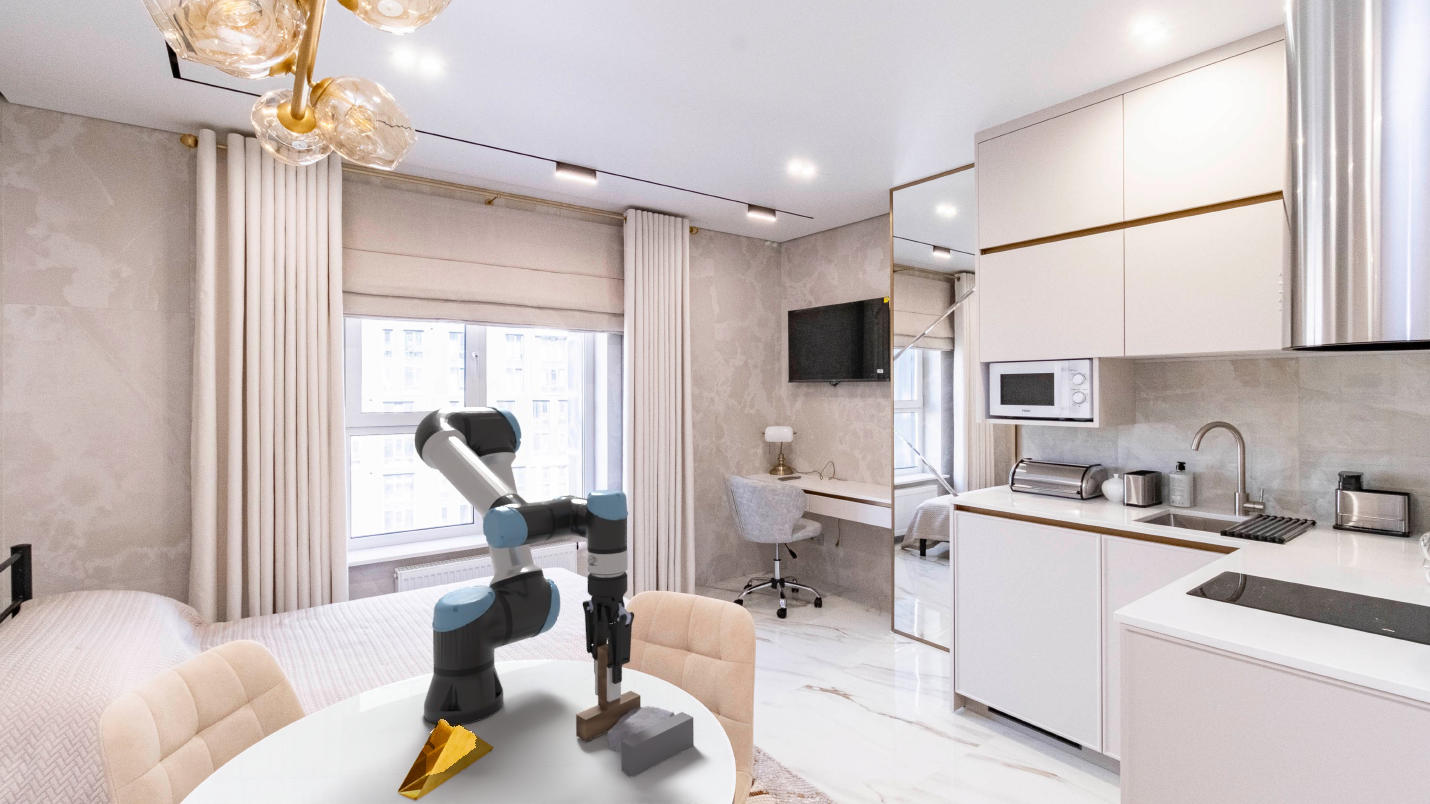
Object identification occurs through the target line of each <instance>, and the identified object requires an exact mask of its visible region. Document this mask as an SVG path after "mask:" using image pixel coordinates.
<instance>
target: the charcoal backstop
mask: <svg viewBox="0 0 1430 804" xmlns="http://www.w3.org/2000/svg"><path fill="white" fill-rule="evenodd" d="M694 732H695V731H694V716H691V715H689V714H688V713H685V712H683V711H680V712H678V713H676V714H674V716H672V717H670V718H668V719H666V720H664V721H662V722H659V723H657V724H655V725H653V726H651V727H649V728H647V729H645V730H643V731H640V732H638V733H636V734H634V735H632V736H630V737H628V738H626V739H623V740H621V752H620V753H621V757H620V758H621V761H620V762H621V766H620V767H621V771H622V772H623V773H625V774H627V775H628V776H629V777H631V778H634V777H636V776H638V775H640V774H642V773H643V772H646V771H647V770H650V769H651V768H653V767H655V766H657V765H659V764H661V763H662V762H664V761H667V760H668V759H670V758H672V757H674V756H675V755H677V754H679V753H681V752H683V751H685V750H687V749H689V748H691V747H692V746H694V744H695V743H694V741H695V740H694V739H695V738H694Z"/></svg>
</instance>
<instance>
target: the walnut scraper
mask: <svg viewBox="0 0 1430 804" xmlns="http://www.w3.org/2000/svg"><path fill="white" fill-rule="evenodd" d="M607 664H610V661H609V650H608V643H607V644H605V645H603V646H600V647H598V696H597V704H596V705H594V706H592V707H590V708H588V709H585V710H582V711H581V712H579V713H576V714H575V729H576V730H575V731H576V732H575V733H576V736H575V737H577V738H579V739H581V740H583V741H584V742H588V741H590V740H593V739H594V738H596V737H599V736H601V735H603V734H605V733H608V731H609V730H610V729H611V728H612V727H613V726H614V725H615V724H617V722H618V721H619V719H620V718H621V717H622V716H624V715H625V714H627V713H628V711H630V710H632V709H637V708H639V707H641V704H642V703H641V694H639V693H636V692H634V691H632V690H629V691H627V692H624V693H622V694H621V697H620V698H618V699H615V700H613V701H610V702H609V701H607Z"/></svg>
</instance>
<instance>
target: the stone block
mask: <svg viewBox="0 0 1430 804" xmlns="http://www.w3.org/2000/svg"><path fill="white" fill-rule="evenodd" d="M674 715H675V712H674V711H669V710H668V709H663V708H660V707H655V706H650V705H649V706H644V707H639V708H637V709H632V710H630V711H628V713H627V714H625V715H624V716H622V717H621V718H620V719H619V721H618V722H617V724H615V725H614V726H613V727H612V728H611V729H610V730H609V731H607V732H606V734H607V736H606V737H607V738H606V739H607V744H608V747H609V748H610V749H611V750H614V751H617V752H620V753H621V740H623V739H626V738H628V737H630V736H632V735H634V734H636V733H638V732H640V731H643V730H645V729H647V728H649V727H651V726H653V725H655V724H657V723H659V722H662V721H664V720H666V719H668V718H670V717H672V716H674Z"/></svg>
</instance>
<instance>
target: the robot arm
mask: <svg viewBox="0 0 1430 804" xmlns="http://www.w3.org/2000/svg"><path fill="white" fill-rule="evenodd" d="M521 439H522V430H521V426H520V423H519V421H518V419H517V418H516V416H515V415H514V414H513V413H512V412H511V411H510V410H508V409H506V408H503V407H494V406H485V407H443V408H438V409H435V410H434V411H432V412H430V413H429V414H427V415H426V416H425V417H423V419H422V420H421V421H420V423H419V424H418V426H417V428H416V431H415V433H414V448H415V451H416V453H417V454H418V456H419V458H420V459H421V460H422V461H423V462H424V464H426V466H427V467H428V468H430V469H434V470H438V471H439V472H440V473H441V474H442V475H443V476H444V477H445V478H446V480H447V481H449V482H450V484H451V485H452V486H453V487H454V489H456V490H457V491H458V492H459V493H460V494H461V495H462V496H463V498H465V500H466V501H468V503H469V504H470V505H471V506H472V507H473V508H474V509H475V510H476V511H477V512H478V514H480V515H481V516H482V517H481V518H482V531H483V535H484V537H485V540H486V542H487V545H488V546H487V547H488V549H489V556H490V559H491V564H492V569H493V574H494V575H493V577H492V579H491V581H490V582H489V584H488V585H473V586H467V587H462V588H459V589H455V590H453V591H451V592H449V593H448V592H447V594H445V595H443V596H441V598H439V599H438V601H437V602H436V603H435V605H434V607H433V608H434V609H433V617H432V624H431V625H432V626H431V627H432V633H433V634H432V644H433V646H432V650H433V675H432V678H431V681H430V684H429V686H428V690H427V693H426V696H425V700H424V702H423V716H424V718H425V720H426V721H428V722H430V723H432V724H435V725H438V724H437V723H438V721H439V720H440V719H444V720H446V721H447V722H448V723H449V724H450V725H449V726H459V724H460V725H464V724H470V723H471V724H472V723H474V722H477V721H481V720H483V719H486V718H488V717H490V716H492V715H493V714H495V713H497V712H498V711H499V710H501V708H502V707H503V705H504V688H503V686H502V683H501V680H500V678H499V675H498V672H497V669H496V666H495V650H496V649H498V648H500V647H501V648H502V647H504V646H508V645H510V644H513V643H516V642H520V641H523V640H527V639H529V638H535V637H537V636H539V635H541V634H543V633H546V632H548V631H549V630H551V629H552V628H553V627H554V626H555V624H556V623H557V620H558V617H559V615H560V612H561V595H560V590H559V588H558V586H557V584H556V583H555V581H554V580H553V579H551V578H549V577H544V576H545V575H544V571H543V569H542V568H540V567H539V566H537V565H536V564H535V563H534V559H533V554H532V550H531V547H530V545H531V544H535V543H540V542H547V541H552V540H557V539H561V538H567V537H580V538H585V539H587V549H586V550H587V572H589V574H588V575H587V593H588V595H589V596H591V598H590V599H588V600H587V599H586V600H584V601H582V607H583V612H584V624H585V626H584V627H585V640H586V641H585V642H586V644H585V645H586V652H587V654H591V657H592V659H593V665H594V666H593V668H594V669H593V672H594V695H595V696H597V697H598V647H600V646H603V645H605V644H608V650H609V661H610V664H607V701H609V702H610V701H613V700H615V699H618V698H620V697H621V695H622V694H621V693H622V681H623V666H624V665H626V664H629V663H630V662H631V647H632V628H633V622H634V619H635V613H634V612H633V611H631V612H629V611H627V609H626V607H625V601H624V596H625V594H626V593H627V592H628V573H627V572H626V571H627V570H628V568H629V566H628V565H629V564H628V562H629V561H628V515H629V511H628V501H627V494H626V493H625V492H624V491H622V490H616V489H613V490H612V489H601V490H600V489H599V490H593V491H591V492H589V493H588V494H587V498H584V497H578V496H574V495H558V496H555V497H554V498H553V499H550V500H542V501H537V502H536V501H534V502H527V501H526V500H525V499H524V498H523V497H522V496H520V495H519V494H518V490H517V489H518V488H517V485H516V482H515V476H514V472H513V467H512V464H513V462H514V461H515V460H516V458H517V456H516V453H517V451H519V449H520V447H521V444H522V442H521Z"/></svg>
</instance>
